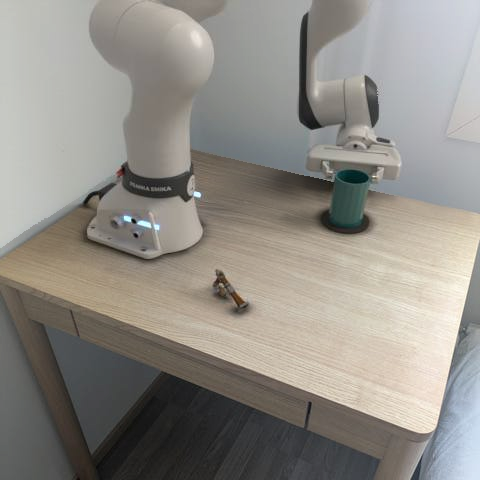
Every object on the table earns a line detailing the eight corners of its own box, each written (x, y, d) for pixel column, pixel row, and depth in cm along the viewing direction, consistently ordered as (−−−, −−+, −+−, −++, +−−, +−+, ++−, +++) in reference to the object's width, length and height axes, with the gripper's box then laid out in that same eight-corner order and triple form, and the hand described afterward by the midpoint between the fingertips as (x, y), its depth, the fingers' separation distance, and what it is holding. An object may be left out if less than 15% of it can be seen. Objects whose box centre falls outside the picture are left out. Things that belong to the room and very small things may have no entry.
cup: (326, 224, 100) (332, 181, 93) (331, 208, 105) (338, 166, 98) (359, 230, 98) (368, 186, 92) (363, 214, 103) (372, 171, 97)
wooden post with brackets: (215, 279, 85) (221, 264, 81) (242, 315, 83) (250, 302, 79) (206, 283, 84) (212, 268, 80) (233, 319, 82) (241, 306, 78)
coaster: (316, 228, 99) (316, 227, 99) (324, 205, 106) (325, 204, 106) (366, 237, 97) (366, 236, 97) (371, 212, 104) (371, 211, 104)
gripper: (310, 133, 112) (303, 158, 102) (402, 142, 109) (404, 169, 99) (307, 159, 116) (300, 186, 106) (395, 168, 113) (397, 197, 103)
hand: (351, 178), depth 103 cm, fingers open, 8 cm apart
